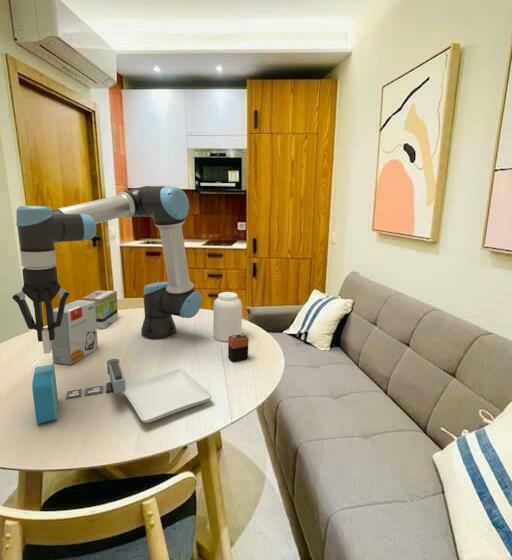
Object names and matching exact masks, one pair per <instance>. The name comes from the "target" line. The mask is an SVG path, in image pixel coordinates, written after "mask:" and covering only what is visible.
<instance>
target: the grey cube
mask: <svg viewBox="0 0 512 560" xmlns="http://www.w3.org/2000/svg"><path fill="white" fill-rule="evenodd" d="M109 380H110V381H109V382H106V386H105V387H106V388H105V389H106V390H105V391H106V392H105V393H106V394H109V393H114V390H113V387H112V383H111V379H110V378H109Z"/></svg>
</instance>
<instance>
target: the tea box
mask: <svg viewBox="0 0 512 560" xmlns="http://www.w3.org/2000/svg"><path fill="white" fill-rule="evenodd" d="M81 300H86V301H95V308H96V324H97V330H104V329H106V328H107V327H108V326H110V325H111V324H112V323H114V322H115V321H116V320H118V317H119V316H118V314H119V312H118V292H117V290H99V289H97V290H95V291H93V292H92V293H89V294H88V295H86V296H84V297H82V298H81Z"/></svg>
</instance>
